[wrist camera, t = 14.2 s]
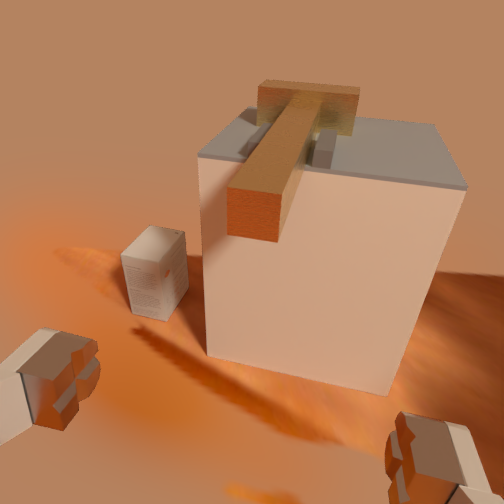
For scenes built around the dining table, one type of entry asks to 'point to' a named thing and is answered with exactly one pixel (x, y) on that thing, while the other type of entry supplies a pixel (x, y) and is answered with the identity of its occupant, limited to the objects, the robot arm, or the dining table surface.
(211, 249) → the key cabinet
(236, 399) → the dining table surface
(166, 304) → the small box
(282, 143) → the wooden t-shaped block
